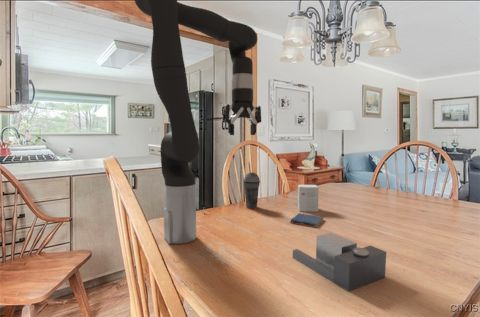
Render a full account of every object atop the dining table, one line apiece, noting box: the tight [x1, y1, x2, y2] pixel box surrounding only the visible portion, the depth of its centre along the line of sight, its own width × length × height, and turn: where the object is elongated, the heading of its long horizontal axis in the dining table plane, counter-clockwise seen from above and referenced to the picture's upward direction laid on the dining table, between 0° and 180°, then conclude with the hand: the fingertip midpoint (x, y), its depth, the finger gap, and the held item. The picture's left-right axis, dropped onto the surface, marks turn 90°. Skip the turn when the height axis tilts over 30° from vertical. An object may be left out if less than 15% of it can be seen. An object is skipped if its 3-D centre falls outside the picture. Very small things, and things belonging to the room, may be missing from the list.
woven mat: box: [289, 212, 325, 229], centre depth 103 cm, size 10×11×2 cm
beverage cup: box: [243, 162, 261, 210], centre depth 122 cm, size 7×7×20 cm
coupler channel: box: [292, 245, 387, 292], centre depth 68 cm, size 12×18×7 cm, turn 28°
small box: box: [297, 184, 319, 213], centre depth 118 cm, size 8×6×10 cm
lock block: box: [315, 232, 358, 269], centre depth 67 cm, size 5×8×7 cm, turn 28°
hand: (242, 135), depth 98 cm, fingers open, 8 cm apart
